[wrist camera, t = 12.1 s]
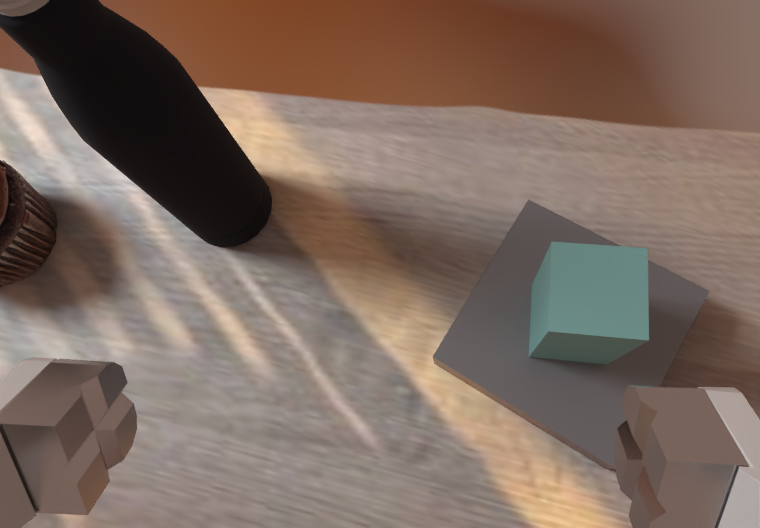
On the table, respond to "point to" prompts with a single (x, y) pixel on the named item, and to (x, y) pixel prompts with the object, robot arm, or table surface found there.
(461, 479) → the table surface
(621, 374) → the plate
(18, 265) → the cupcake
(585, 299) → the teal block
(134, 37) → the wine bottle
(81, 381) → the robot arm
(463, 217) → the table surface
